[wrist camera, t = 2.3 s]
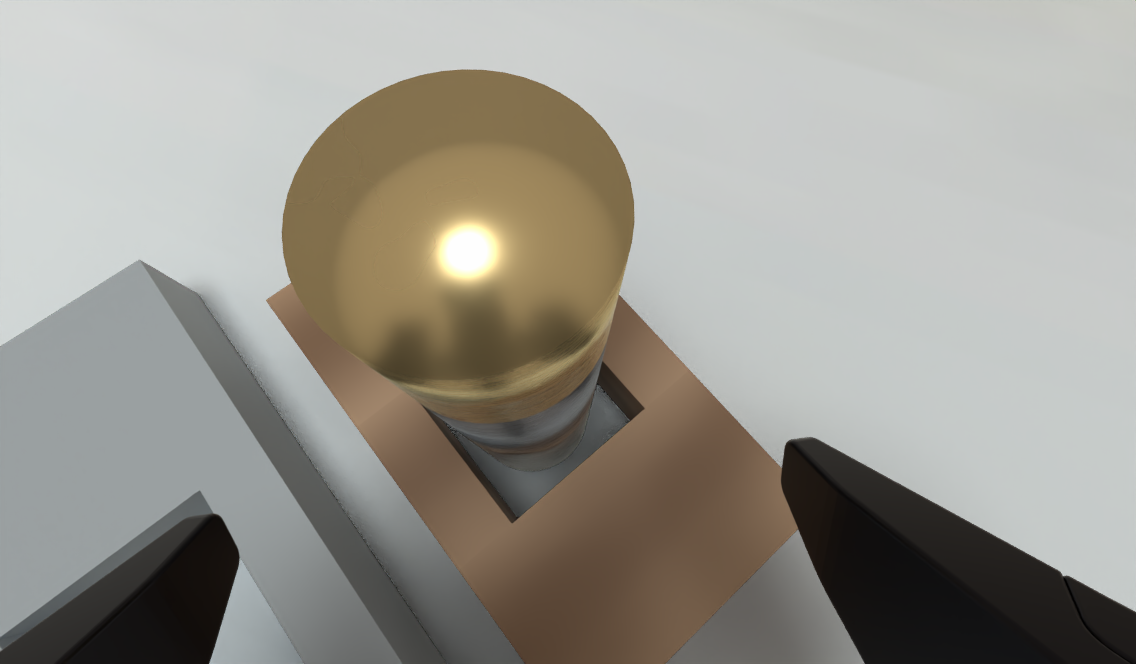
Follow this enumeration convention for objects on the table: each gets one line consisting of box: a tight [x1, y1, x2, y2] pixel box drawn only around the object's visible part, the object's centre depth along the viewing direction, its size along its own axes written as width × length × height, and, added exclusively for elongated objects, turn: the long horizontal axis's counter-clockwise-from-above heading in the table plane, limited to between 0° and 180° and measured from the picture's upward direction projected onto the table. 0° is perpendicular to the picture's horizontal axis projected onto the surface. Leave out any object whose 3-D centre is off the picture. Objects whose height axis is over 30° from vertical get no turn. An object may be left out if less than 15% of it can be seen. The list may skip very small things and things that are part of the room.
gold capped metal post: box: [282, 70, 634, 471], centre depth 13 cm, size 4×4×14 cm
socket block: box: [266, 283, 798, 664], centre depth 18 cm, size 16×9×3 cm, turn 40°
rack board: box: [0, 260, 447, 664], centre depth 16 cm, size 22×10×3 cm, turn 40°
